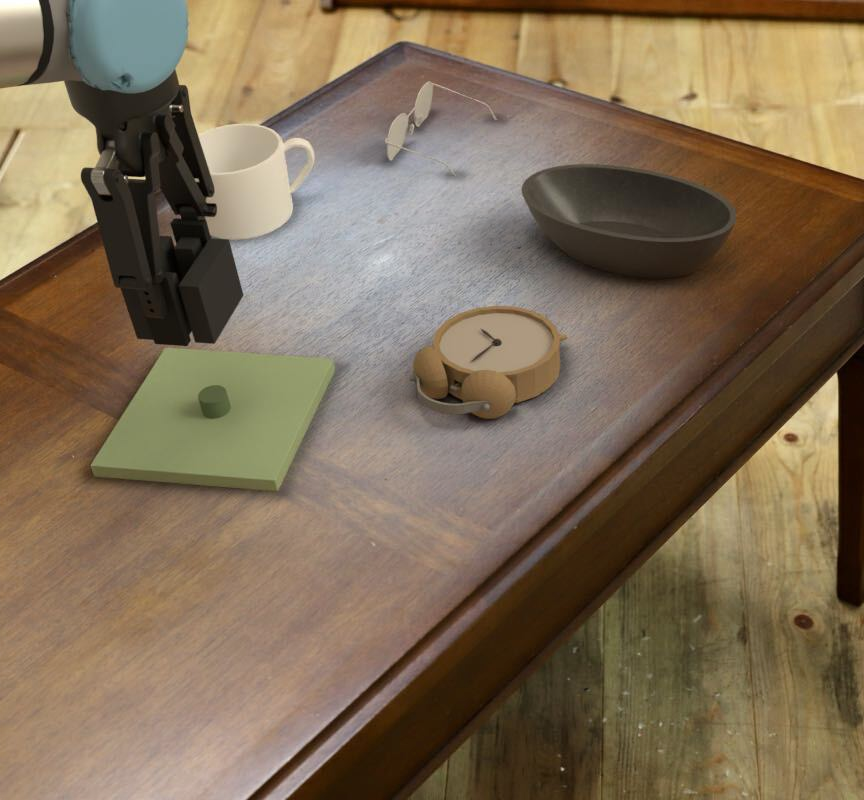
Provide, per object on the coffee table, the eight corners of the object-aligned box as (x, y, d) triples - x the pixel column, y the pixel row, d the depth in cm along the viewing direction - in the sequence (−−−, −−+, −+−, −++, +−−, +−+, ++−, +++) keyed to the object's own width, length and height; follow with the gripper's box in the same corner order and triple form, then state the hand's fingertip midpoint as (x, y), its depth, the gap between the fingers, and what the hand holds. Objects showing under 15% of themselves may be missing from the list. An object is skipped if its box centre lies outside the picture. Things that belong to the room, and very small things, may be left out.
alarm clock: (586, 327, 123) (486, 397, 112) (583, 375, 126) (485, 447, 115) (484, 292, 128) (379, 354, 117) (483, 338, 131) (381, 404, 119)
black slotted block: (137, 339, 109) (118, 282, 105) (169, 291, 114) (152, 234, 110) (214, 344, 108) (198, 286, 104) (243, 295, 113) (229, 239, 109)
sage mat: (94, 478, 115) (83, 449, 113) (169, 360, 127) (160, 331, 125) (278, 493, 112) (270, 463, 110) (336, 371, 124) (330, 342, 122)
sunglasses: (431, 111, 161) (433, 73, 158) (498, 129, 160) (501, 92, 157) (383, 171, 151) (383, 131, 148) (454, 191, 150) (456, 152, 147)
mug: (196, 250, 141) (177, 181, 135) (195, 198, 148) (177, 131, 143) (328, 230, 143) (314, 161, 137) (320, 179, 151) (307, 113, 145)
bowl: (556, 203, 145) (552, 151, 141) (754, 246, 137) (756, 192, 133) (502, 263, 137) (497, 210, 133) (709, 313, 129) (710, 258, 125)
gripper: (103, 119, 88) (188, 395, 103) (214, -9, 102) (275, 249, 117) (-6, 115, 89) (94, 388, 104) (120, -12, 104) (192, 244, 118)
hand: (190, 314), depth 111 cm, fingers closed on black slotted block, 6 cm apart
